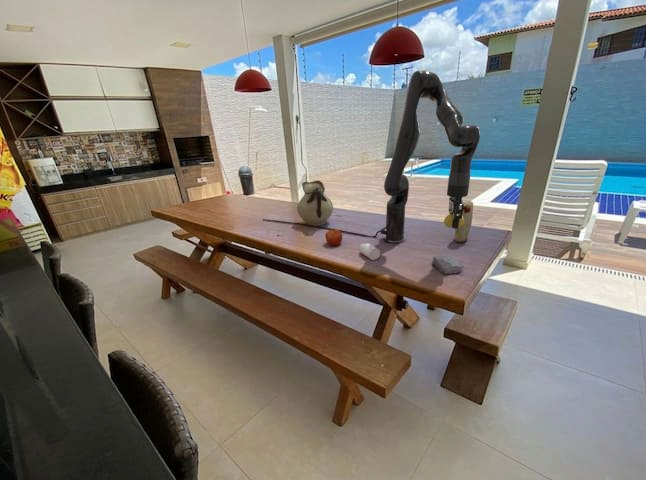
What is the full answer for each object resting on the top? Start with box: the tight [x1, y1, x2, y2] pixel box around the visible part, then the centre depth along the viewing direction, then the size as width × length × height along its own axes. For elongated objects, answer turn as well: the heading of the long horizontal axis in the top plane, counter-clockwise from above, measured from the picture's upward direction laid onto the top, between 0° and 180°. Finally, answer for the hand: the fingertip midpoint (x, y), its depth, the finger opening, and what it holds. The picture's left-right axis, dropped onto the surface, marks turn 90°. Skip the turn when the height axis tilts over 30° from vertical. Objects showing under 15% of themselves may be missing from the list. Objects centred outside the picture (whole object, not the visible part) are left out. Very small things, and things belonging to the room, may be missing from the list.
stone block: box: [432, 254, 464, 275], centre depth 128 cm, size 12×5×10 cm
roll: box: [359, 243, 381, 261], centre depth 144 cm, size 6×12×6 cm, turn 22°
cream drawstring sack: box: [296, 180, 334, 227], centre depth 188 cm, size 22×24×25 cm
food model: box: [454, 200, 474, 243], centre depth 151 cm, size 10×7×20 cm
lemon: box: [443, 214, 464, 229], centre depth 123 cm, size 8×5×5 cm
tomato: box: [324, 228, 343, 246], centre depth 159 cm, size 9×9×8 cm
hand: (453, 225), depth 123 cm, fingers closed on lemon, 5 cm apart
